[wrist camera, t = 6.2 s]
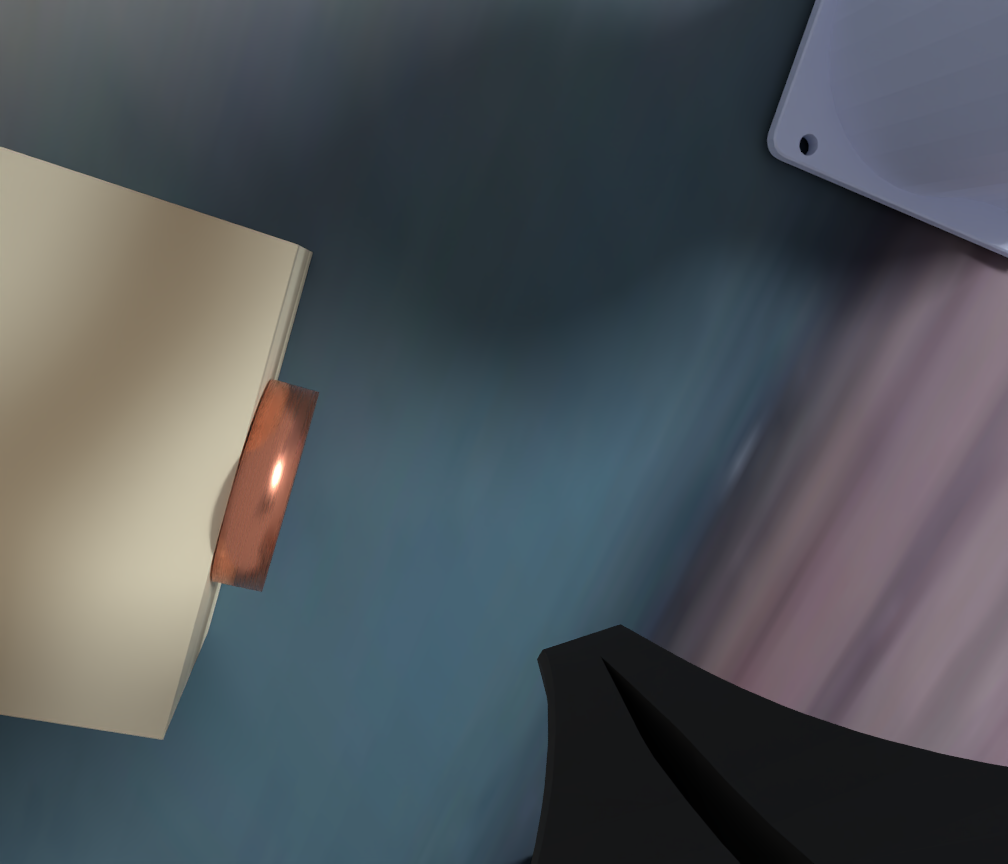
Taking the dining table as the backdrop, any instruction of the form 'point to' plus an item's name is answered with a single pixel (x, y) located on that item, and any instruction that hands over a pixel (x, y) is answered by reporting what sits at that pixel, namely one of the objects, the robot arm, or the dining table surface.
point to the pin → (263, 485)
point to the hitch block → (121, 434)
